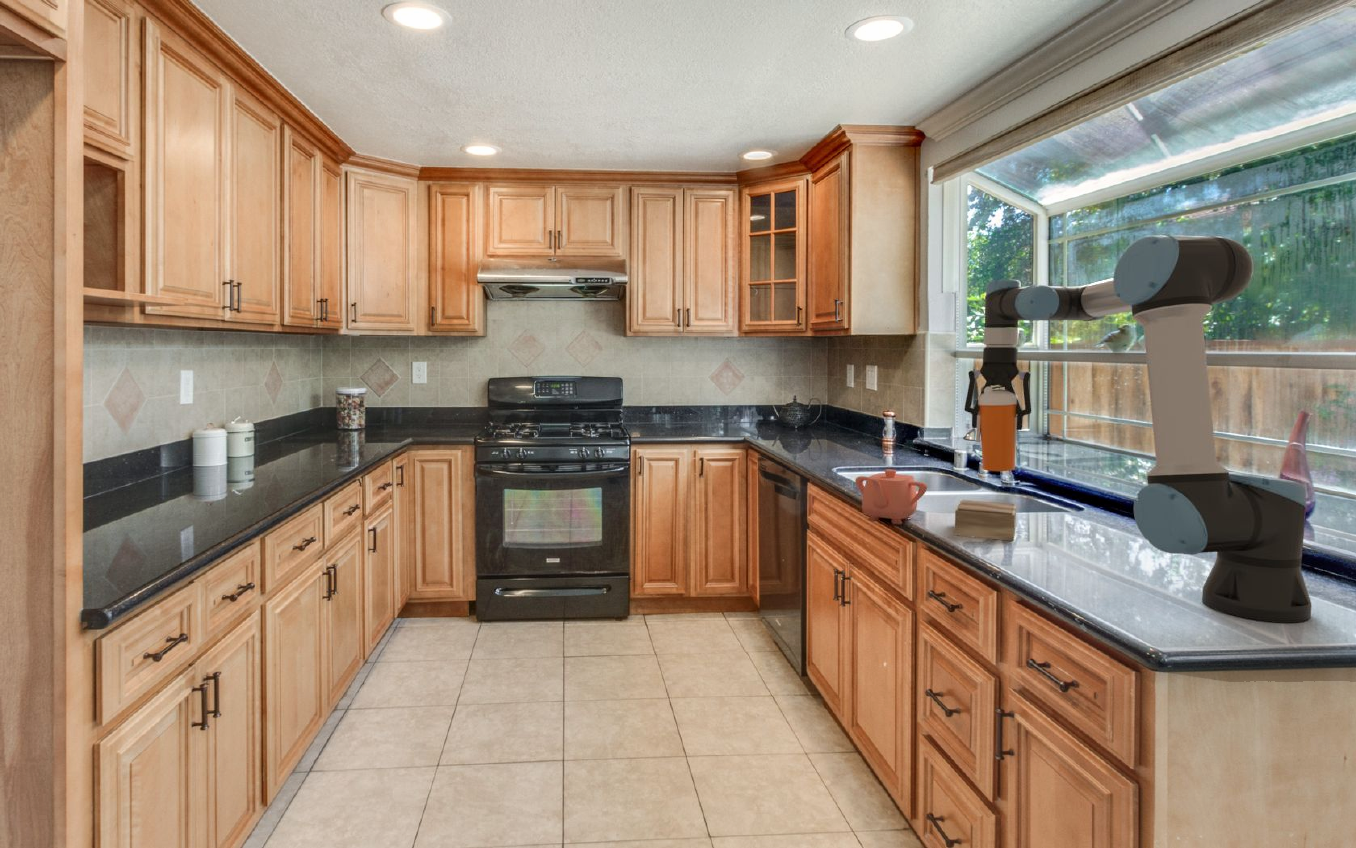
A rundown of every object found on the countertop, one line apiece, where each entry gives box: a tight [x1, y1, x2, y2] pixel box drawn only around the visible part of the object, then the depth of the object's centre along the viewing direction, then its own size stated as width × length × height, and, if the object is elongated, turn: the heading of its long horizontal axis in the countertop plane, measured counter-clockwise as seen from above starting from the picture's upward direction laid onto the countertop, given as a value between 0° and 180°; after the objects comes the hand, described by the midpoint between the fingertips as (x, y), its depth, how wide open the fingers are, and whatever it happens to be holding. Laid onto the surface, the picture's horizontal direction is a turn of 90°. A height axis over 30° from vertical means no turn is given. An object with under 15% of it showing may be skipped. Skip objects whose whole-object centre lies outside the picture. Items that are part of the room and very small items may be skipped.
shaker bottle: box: [977, 384, 1019, 472], centre depth 186 cm, size 9×9×20 cm
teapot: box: [855, 468, 928, 525], centre depth 204 cm, size 17×16×13 cm
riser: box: [954, 499, 1017, 542], centre depth 190 cm, size 13×13×6 cm
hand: (996, 442), depth 187 cm, fingers closed on shaker bottle, 7 cm apart
